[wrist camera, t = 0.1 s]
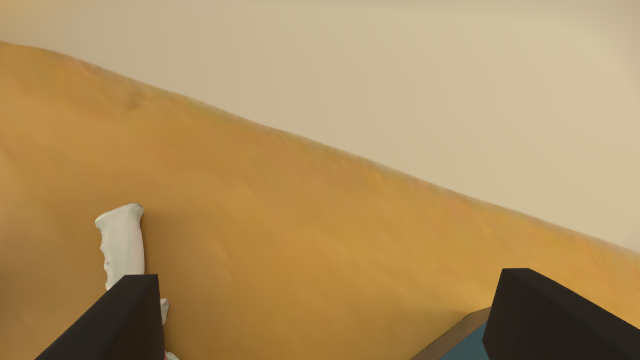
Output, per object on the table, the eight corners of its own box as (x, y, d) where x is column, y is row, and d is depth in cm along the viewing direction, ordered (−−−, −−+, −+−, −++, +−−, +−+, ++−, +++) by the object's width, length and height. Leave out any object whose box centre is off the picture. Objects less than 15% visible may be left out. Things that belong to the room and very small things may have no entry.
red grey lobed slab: (131, 208, 43) (-51, 401, 34) (116, 182, 39) (-99, 397, 29) (280, 301, 41) (129, 541, 31) (283, 285, 36) (107, 560, 26)
